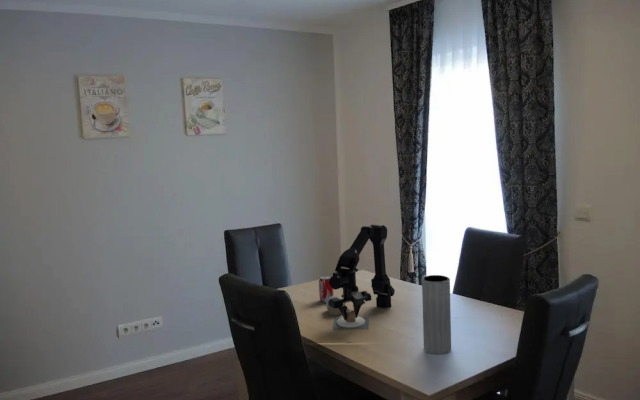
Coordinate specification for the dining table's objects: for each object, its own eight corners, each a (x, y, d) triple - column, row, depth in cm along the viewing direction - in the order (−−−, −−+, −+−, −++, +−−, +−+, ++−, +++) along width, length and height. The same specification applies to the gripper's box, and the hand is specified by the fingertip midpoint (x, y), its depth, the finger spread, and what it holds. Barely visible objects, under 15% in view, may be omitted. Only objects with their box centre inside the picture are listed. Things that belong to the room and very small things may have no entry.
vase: (431, 342, 206) (430, 273, 203) (455, 347, 200) (454, 277, 197) (418, 350, 198) (416, 279, 195) (443, 356, 192) (442, 283, 189)
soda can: (332, 303, 260) (331, 279, 259) (318, 302, 262) (317, 279, 261) (335, 298, 267) (333, 275, 266) (321, 298, 269) (320, 275, 267)
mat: (368, 318, 236) (368, 316, 236) (368, 330, 221) (368, 328, 221) (334, 319, 237) (334, 317, 237) (332, 331, 223) (332, 329, 222)
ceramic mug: (327, 317, 240) (327, 301, 239) (326, 311, 248) (326, 295, 247) (351, 316, 240) (350, 300, 239) (349, 310, 248) (348, 294, 247)
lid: (364, 317, 235) (364, 306, 234) (365, 327, 223) (364, 316, 222) (337, 318, 236) (337, 307, 235) (336, 328, 224) (335, 316, 223)
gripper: (340, 291, 216) (342, 329, 218) (378, 283, 225) (379, 319, 227) (326, 286, 225) (328, 321, 227) (363, 278, 234) (364, 312, 236)
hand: (350, 319), depth 229 cm, fingers open, 5 cm apart
